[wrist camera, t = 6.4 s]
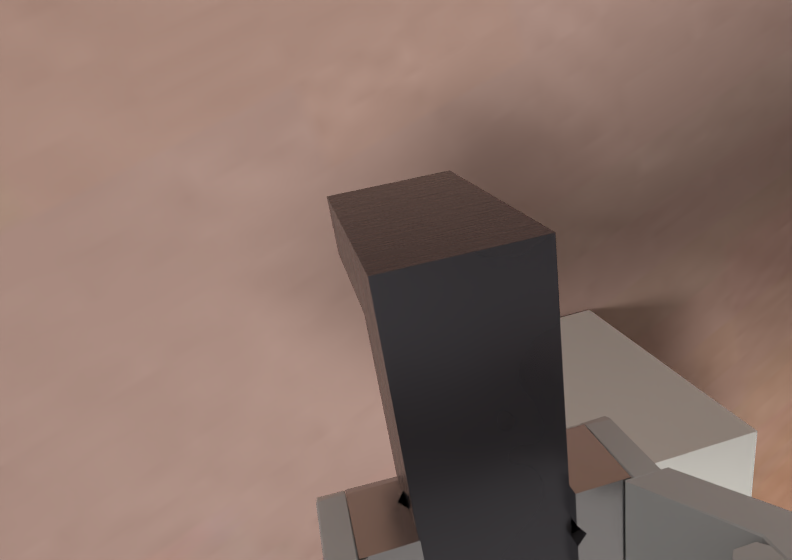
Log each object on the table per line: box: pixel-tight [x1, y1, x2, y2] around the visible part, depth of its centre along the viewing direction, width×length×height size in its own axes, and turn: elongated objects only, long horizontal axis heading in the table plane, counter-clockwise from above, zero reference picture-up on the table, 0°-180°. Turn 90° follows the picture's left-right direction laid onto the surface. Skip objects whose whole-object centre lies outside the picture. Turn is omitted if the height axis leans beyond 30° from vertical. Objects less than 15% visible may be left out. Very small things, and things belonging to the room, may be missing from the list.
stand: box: [560, 310, 757, 497], centre depth 28 cm, size 13×7×15 cm, turn 9°
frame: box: [327, 171, 573, 560], centre depth 11 cm, size 10×2×4 cm, turn 9°
